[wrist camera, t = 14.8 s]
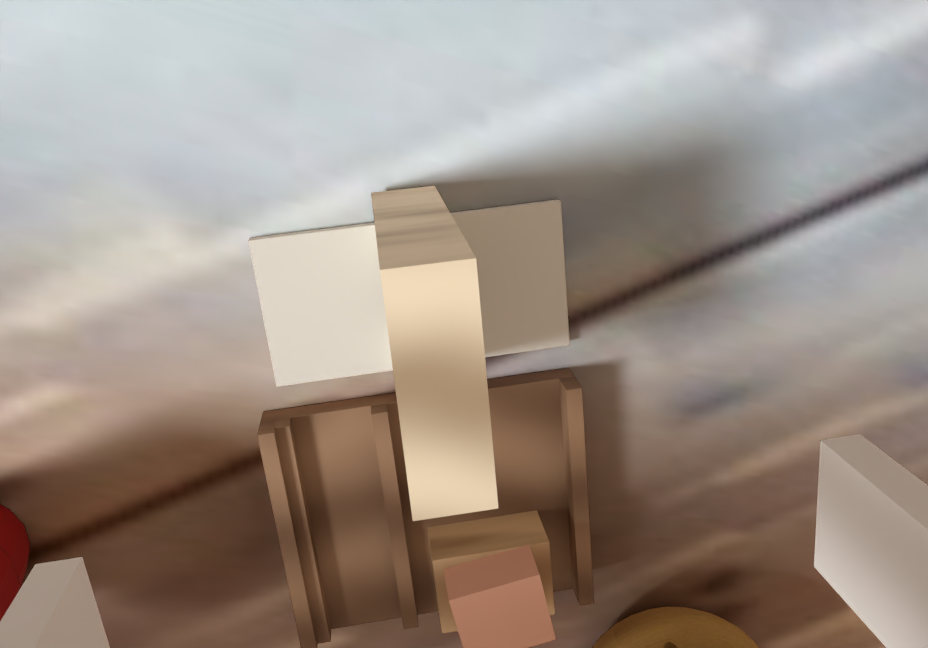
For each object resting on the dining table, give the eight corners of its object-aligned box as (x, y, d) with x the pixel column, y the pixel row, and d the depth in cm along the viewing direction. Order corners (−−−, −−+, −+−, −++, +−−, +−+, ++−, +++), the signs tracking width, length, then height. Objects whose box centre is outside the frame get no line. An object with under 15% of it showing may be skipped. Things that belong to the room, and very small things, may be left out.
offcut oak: (542, 579, 46) (554, 614, 43) (436, 596, 45) (442, 633, 42) (536, 510, 44) (549, 541, 41) (427, 527, 44) (432, 560, 41)
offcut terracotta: (544, 606, 43) (555, 639, 40) (462, 630, 42) (468, 665, 40) (528, 544, 41) (539, 574, 39) (443, 569, 41) (448, 600, 39)
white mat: (566, 341, 42) (569, 345, 42) (277, 382, 41) (276, 386, 41) (557, 199, 40) (561, 201, 39) (249, 237, 39) (248, 240, 38)
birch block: (452, 361, 41) (498, 508, 28) (394, 369, 41) (412, 521, 28) (434, 185, 38) (475, 258, 25) (370, 192, 38) (379, 269, 25)
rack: (581, 573, 47) (594, 603, 45) (304, 619, 46) (302, 652, 43) (568, 367, 43) (581, 387, 40) (262, 411, 42) (256, 435, 39)
